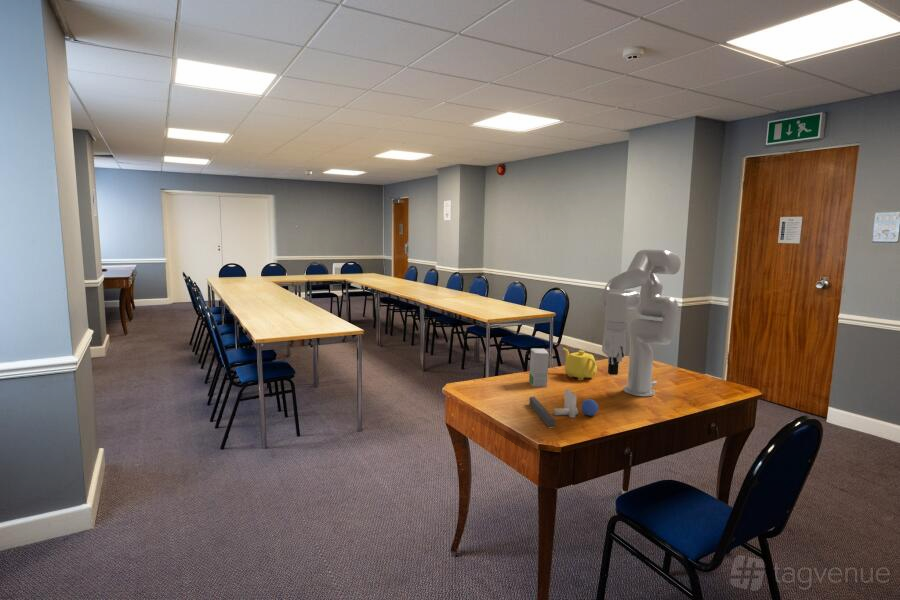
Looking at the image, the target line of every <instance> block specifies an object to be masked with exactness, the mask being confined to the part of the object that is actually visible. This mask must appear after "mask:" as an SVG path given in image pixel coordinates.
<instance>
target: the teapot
mask: <svg viewBox="0 0 900 600" xmlns="http://www.w3.org/2000/svg"><path fill="white" fill-rule="evenodd" d="M562 350H564V352H565V353H564V354H565V364H564V372H565V374H566V375H568V376H569V377H568V376H567V377H568V378H577V381H580V380H583V381H584V379H585V378H586V379H589V378H592V379H593V376H595V375H596V374H597V371H598V367H597V362H596V359H595V356H594V355H593V354H592V353H588V352H585V350H583V349H582V350H578V352H576V351H575V352H572V353H570V352H569V349H568V348H565V347H563V348H562Z"/></svg>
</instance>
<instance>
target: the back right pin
mask: <svg viewBox="0 0 900 600" xmlns="http://www.w3.org/2000/svg"><path fill="white" fill-rule="evenodd" d="M571 393H572V389H568V388H567V389H566V388H565V389H564V406H563V408H569V400H570V394H571Z"/></svg>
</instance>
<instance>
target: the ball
mask: <svg viewBox="0 0 900 600" xmlns="http://www.w3.org/2000/svg"><path fill="white" fill-rule="evenodd" d="M580 407H581V411H582V413H583V414H585V415H587V416H588V417H589V416H591V417H592V416H594V415H596V414H597V412H598V411H599V405H598V403H597V402H596V401H595V400H594V399H592V398H587V399H585V400H583V401H582V403H581V405H580Z"/></svg>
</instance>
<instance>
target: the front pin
mask: <svg viewBox="0 0 900 600" xmlns="http://www.w3.org/2000/svg"><path fill="white" fill-rule="evenodd" d="M578 414H579V409H578V408H577V407H576V415H578ZM553 415H554V416H569V408H564V407H563V408H554V409H553Z"/></svg>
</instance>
